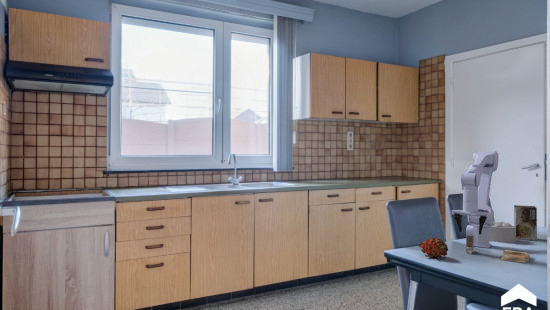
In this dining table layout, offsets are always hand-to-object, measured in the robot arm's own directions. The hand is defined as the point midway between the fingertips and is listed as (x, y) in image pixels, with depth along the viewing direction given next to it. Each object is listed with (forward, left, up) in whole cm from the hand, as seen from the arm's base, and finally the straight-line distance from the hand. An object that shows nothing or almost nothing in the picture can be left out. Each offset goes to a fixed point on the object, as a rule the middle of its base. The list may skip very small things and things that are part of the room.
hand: (470, 232), depth 167 cm
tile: (+17, 0, -9) cm, 19 cm away
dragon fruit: (-11, -17, -9) cm, 22 cm away
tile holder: (+16, 0, -8) cm, 18 cm away
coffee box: (+18, +45, -9) cm, 49 cm away
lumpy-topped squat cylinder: (+8, +34, -9) cm, 36 cm away
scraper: (0, 0, -8) cm, 8 cm away
